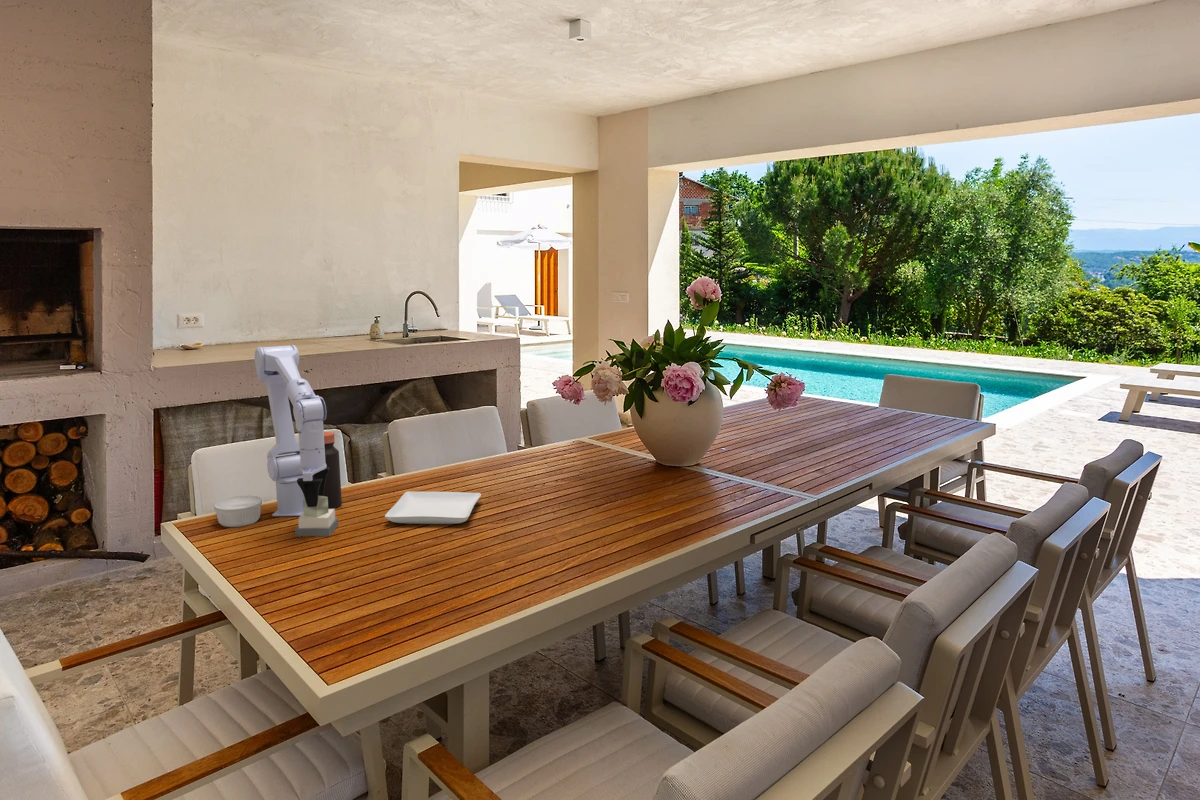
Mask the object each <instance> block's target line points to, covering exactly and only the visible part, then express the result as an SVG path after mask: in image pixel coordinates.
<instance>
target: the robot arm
mask: <svg viewBox="0 0 1200 800" xmlns="http://www.w3.org/2000/svg"><path fill="white" fill-rule="evenodd" d="M299 364H300V352H299V350H298V347H297V346H296V345H295V344H289V345H278V346H257V348H256V349H255V351H254V366H255V371H256V375H257V379H258V380H259V381H261V382H264V383H265V387H266V390H267V395H268V402H269V403H268V404H269V409H270V414H271V418H272V419H271V420H272V425H273V430H274V437H275V443H276V444H275V445H274V446H273V447H272V448H271V449H269V450H268V452H267V454H266V459H267V463H266V465H267V472H268V473H267V474H268V477H269V478H270V479H271V480H272V481H273V482H275V491H276V503H277V504H276V505H277V510H275V511H274V513H272V514H271V515H272V517H300V516H301V515H302V514H303V512H304V505H303V499H305V501H306V504H307V506H308V507H317V504H318V496H323V494H324V488H325V482H326V477H327V474H328V472H329V470H330V468H329V467H327V465H326V463H325V446H324V432H325V431H324V430H325V429H324V421H325V420H326V419H327V413H328V412H327V406H326V402H325V400H324V398H323V397H322V396H319V395H316V394H315V392H314V389H313V388H312V387H311V385H310V382H309V381H308V380H306V379H305V378H302V377H301V374H300V371H299V368H298V367H299ZM289 400H290V401H289ZM290 402H291V405H292V412H293V417H294V421H295V428H296V430H297V432H298V441H297V440H296V434H295V429H294V423H293V418H292V412H291V406H290Z"/></svg>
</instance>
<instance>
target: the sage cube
mask: <svg viewBox="0 0 1200 800" xmlns="http://www.w3.org/2000/svg"><path fill="white" fill-rule="evenodd" d="M303 505H304V515H305V516H312V517H319V516H322V515H324V514H326V513H329V512H328V497H325V496H318V504H317V507H308V506H307V504H306V501H305V499H303Z"/></svg>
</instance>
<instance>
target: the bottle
mask: <svg viewBox="0 0 1200 800" xmlns="http://www.w3.org/2000/svg"><path fill="white" fill-rule="evenodd" d="M334 444H335V433H334V432H329V431H326V432H325V431H324V446H325V463H326V465H327V467H329V468H330V470H329V472H328V474H327V477H326V482H325V488H324V494H323V496H325V497H328V509H337V508H339V507H341V506H342V503H343V500H342V499H343V497H342V484H341V483H342V482H341V468H340V467H341V465H340V452H339V450H338V448H336V447H335V446H334Z"/></svg>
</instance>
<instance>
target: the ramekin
mask: <svg viewBox="0 0 1200 800" xmlns="http://www.w3.org/2000/svg"><path fill="white" fill-rule="evenodd" d="M262 503H263V500H262V498H261V497H259V496H255V495H237V496H229V497H226V498H224V499H220V500H218V501H216V502H215V503H213V510H214V511H215V515H216V517H217V521H218V523H219V525H221V526H223V527H225V528H226V527H227V528H238V527H239V528H240V527H246V526H250V525H253V524H255V523H257V522H258V521H259V519H260V517H261V510H262V509H261V508H262Z"/></svg>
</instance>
